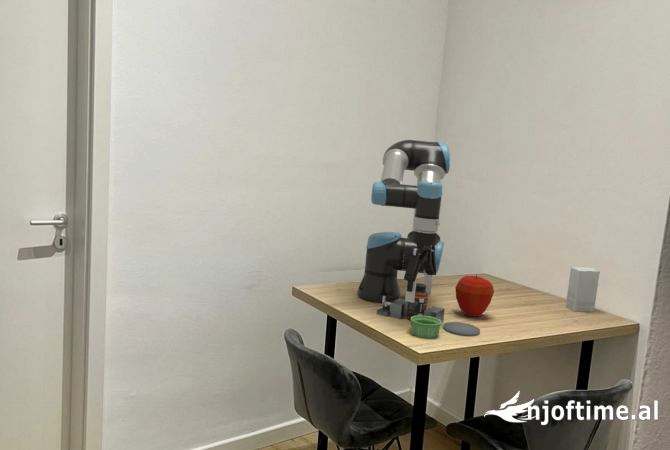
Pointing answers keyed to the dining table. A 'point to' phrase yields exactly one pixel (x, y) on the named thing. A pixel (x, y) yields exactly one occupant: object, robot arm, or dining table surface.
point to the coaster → (461, 329)
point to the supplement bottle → (418, 302)
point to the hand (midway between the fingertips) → (418, 298)
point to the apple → (474, 295)
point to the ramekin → (425, 326)
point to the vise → (401, 307)
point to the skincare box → (582, 289)
